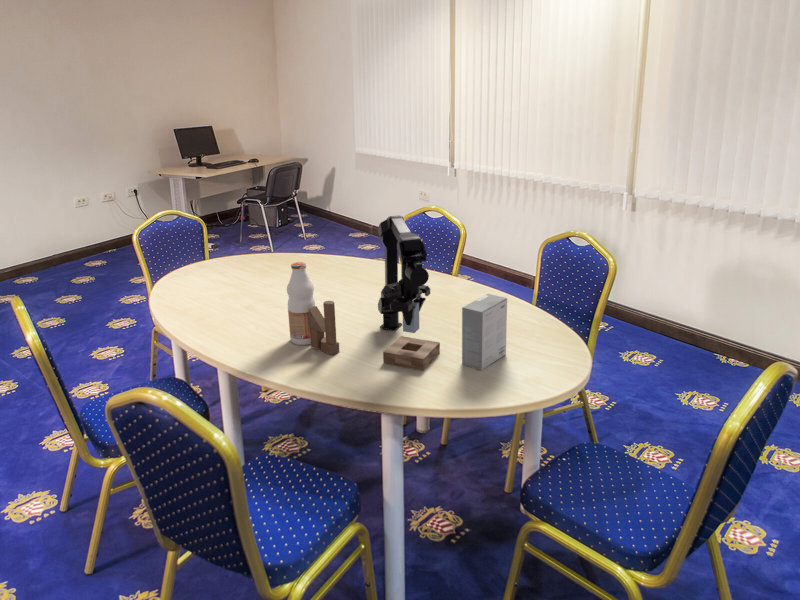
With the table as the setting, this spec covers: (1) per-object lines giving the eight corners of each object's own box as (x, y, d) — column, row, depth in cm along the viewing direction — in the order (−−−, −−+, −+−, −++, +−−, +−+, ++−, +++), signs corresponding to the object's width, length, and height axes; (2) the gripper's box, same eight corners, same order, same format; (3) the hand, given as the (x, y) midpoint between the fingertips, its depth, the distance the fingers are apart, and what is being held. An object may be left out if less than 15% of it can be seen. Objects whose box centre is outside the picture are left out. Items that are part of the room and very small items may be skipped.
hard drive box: (486, 348, 213) (488, 293, 206) (506, 354, 208) (508, 297, 201) (460, 364, 201) (461, 306, 195) (481, 371, 197) (482, 311, 190)
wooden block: (318, 343, 219) (315, 295, 213) (339, 352, 212) (337, 302, 206) (310, 347, 216) (307, 297, 210) (331, 355, 209) (328, 305, 203)
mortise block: (401, 346, 215) (401, 335, 214) (439, 353, 210) (439, 342, 208) (383, 363, 203) (383, 351, 202) (423, 370, 198) (423, 359, 196)
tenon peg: (408, 327, 206) (407, 301, 203) (419, 328, 204) (419, 302, 201) (403, 331, 202) (402, 305, 199) (414, 333, 201) (414, 306, 198)
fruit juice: (291, 347, 217) (285, 269, 207) (289, 336, 225) (283, 261, 216) (319, 343, 219) (314, 266, 209) (315, 333, 227) (310, 259, 218)
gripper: (399, 265, 208) (400, 309, 213) (374, 282, 192) (375, 329, 198) (430, 269, 204) (430, 314, 209) (407, 286, 188) (408, 334, 193)
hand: (411, 322), depth 202 cm, fingers closed on tenon peg, 4 cm apart
